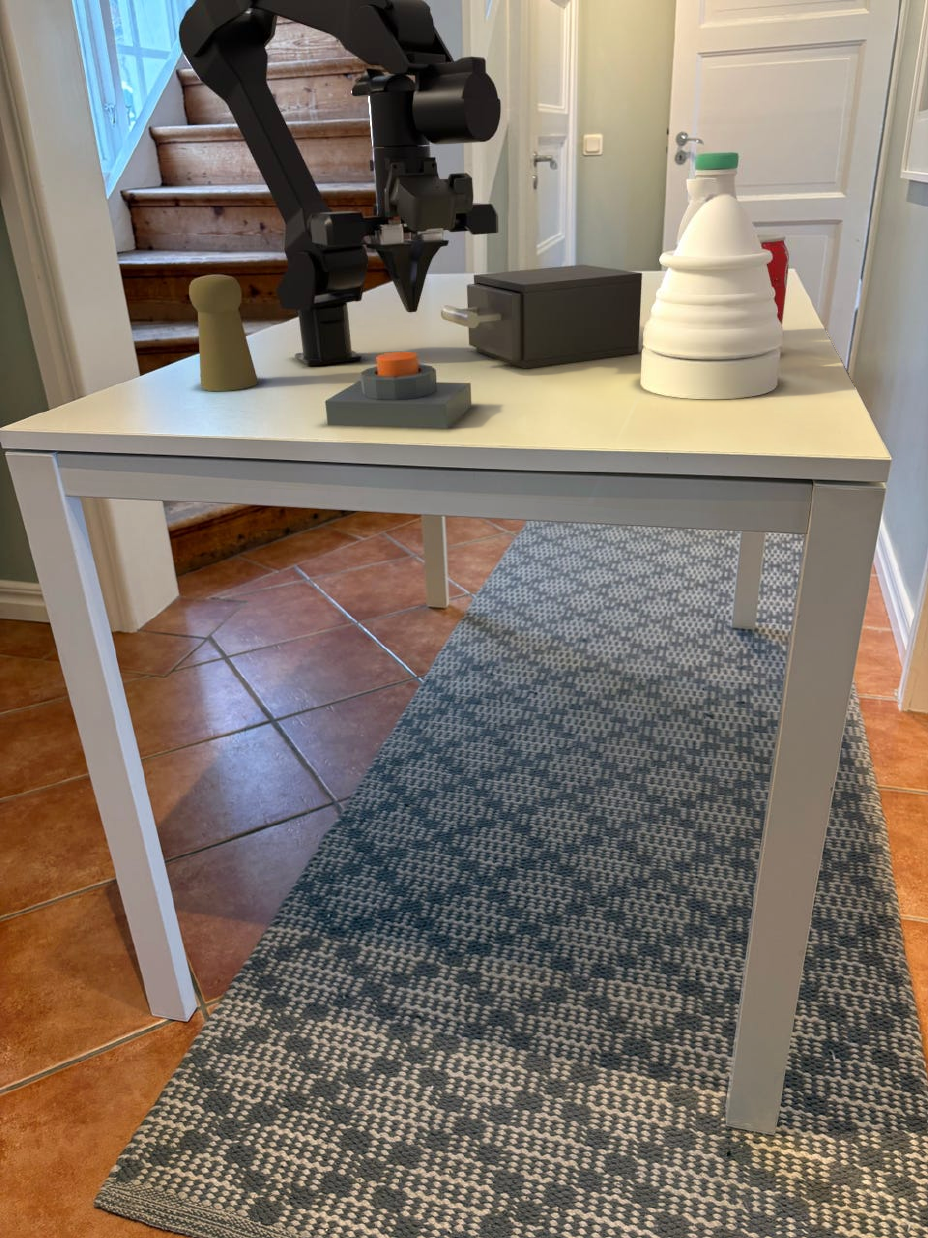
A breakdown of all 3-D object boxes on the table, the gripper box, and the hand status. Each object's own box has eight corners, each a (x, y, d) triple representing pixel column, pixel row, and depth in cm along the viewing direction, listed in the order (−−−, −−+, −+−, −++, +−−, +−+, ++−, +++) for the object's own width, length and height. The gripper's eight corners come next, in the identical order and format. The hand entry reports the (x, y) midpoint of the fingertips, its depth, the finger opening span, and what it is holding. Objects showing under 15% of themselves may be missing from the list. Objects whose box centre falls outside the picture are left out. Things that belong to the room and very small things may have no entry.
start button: (372, 379, 78) (370, 359, 77) (386, 371, 81) (384, 351, 81) (411, 380, 77) (409, 359, 77) (424, 371, 80) (422, 351, 80)
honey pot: (627, 395, 84) (636, 182, 76) (654, 367, 95) (664, 178, 87) (770, 402, 80) (796, 177, 72) (782, 372, 90) (805, 172, 82)
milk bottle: (744, 336, 109) (762, 150, 100) (724, 347, 103) (741, 151, 94) (683, 332, 113) (695, 153, 103) (660, 343, 107) (671, 154, 98)
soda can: (781, 361, 95) (796, 238, 90) (713, 361, 96) (723, 240, 91) (775, 348, 101) (788, 233, 96) (710, 348, 103) (719, 235, 97)
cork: (208, 393, 92) (189, 280, 87) (195, 383, 97) (176, 275, 92) (265, 385, 95) (249, 275, 90) (250, 376, 100) (234, 270, 95)
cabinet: (524, 368, 97) (524, 284, 93) (476, 350, 107) (473, 274, 104) (638, 353, 102) (642, 272, 98) (581, 337, 112) (582, 264, 109)
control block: (327, 425, 79) (322, 379, 77) (361, 403, 86) (357, 360, 84) (446, 429, 76) (444, 382, 74) (471, 406, 83) (470, 362, 81)
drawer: (476, 365, 95) (473, 298, 92) (435, 349, 105) (431, 287, 102) (618, 346, 101) (621, 282, 98) (568, 332, 111) (568, 274, 108)
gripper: (336, 147, 79) (352, 331, 86) (523, 141, 86) (524, 311, 93) (301, 151, 88) (319, 317, 95) (472, 145, 95) (477, 300, 102)
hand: (411, 311), depth 96 cm, fingers closed
